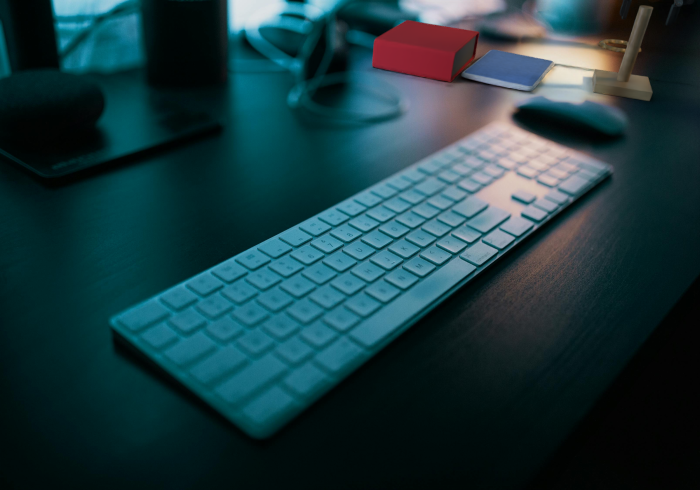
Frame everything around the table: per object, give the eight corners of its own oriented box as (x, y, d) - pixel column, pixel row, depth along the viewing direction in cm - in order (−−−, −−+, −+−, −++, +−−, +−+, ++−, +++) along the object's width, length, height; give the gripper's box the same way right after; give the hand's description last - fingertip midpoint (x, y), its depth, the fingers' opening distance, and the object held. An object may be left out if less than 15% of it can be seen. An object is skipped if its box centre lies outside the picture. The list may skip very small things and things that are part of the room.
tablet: (489, 54, 115) (491, 47, 114) (554, 66, 110) (556, 59, 109) (458, 79, 100) (460, 72, 99) (531, 95, 96) (533, 87, 95)
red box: (405, 45, 116) (408, 19, 113) (474, 57, 112) (479, 30, 109) (371, 68, 102) (374, 39, 99) (449, 83, 98) (454, 53, 95)
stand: (645, 85, 104) (673, 5, 96) (649, 101, 97) (680, 16, 89) (592, 77, 106) (616, -2, 98) (593, 92, 99) (618, 8, 91)
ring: (638, 48, 126) (640, 42, 125) (641, 58, 119) (643, 52, 118) (597, 42, 128) (599, 36, 127) (598, 51, 121) (600, 45, 120)
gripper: (637, -70, 109) (609, 20, 118) (720, -62, 105) (685, 31, 114) (634, -73, 115) (608, 13, 124) (713, -65, 111) (680, 23, 120)
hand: (645, 21), depth 119 cm, fingers open, 8 cm apart
